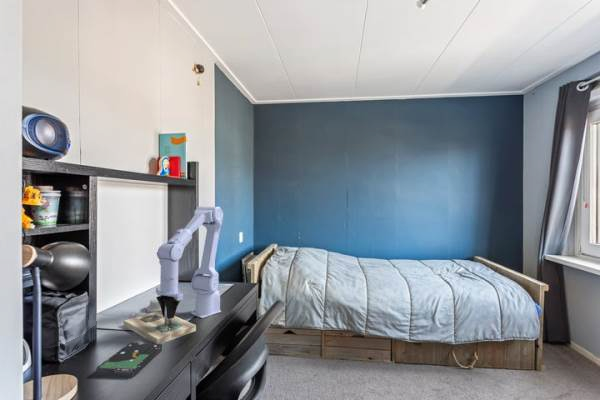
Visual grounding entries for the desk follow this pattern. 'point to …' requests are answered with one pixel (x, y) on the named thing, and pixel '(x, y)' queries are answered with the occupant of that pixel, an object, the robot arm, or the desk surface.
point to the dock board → (159, 327)
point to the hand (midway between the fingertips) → (168, 317)
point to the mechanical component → (153, 306)
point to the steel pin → (167, 321)
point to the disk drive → (129, 360)
